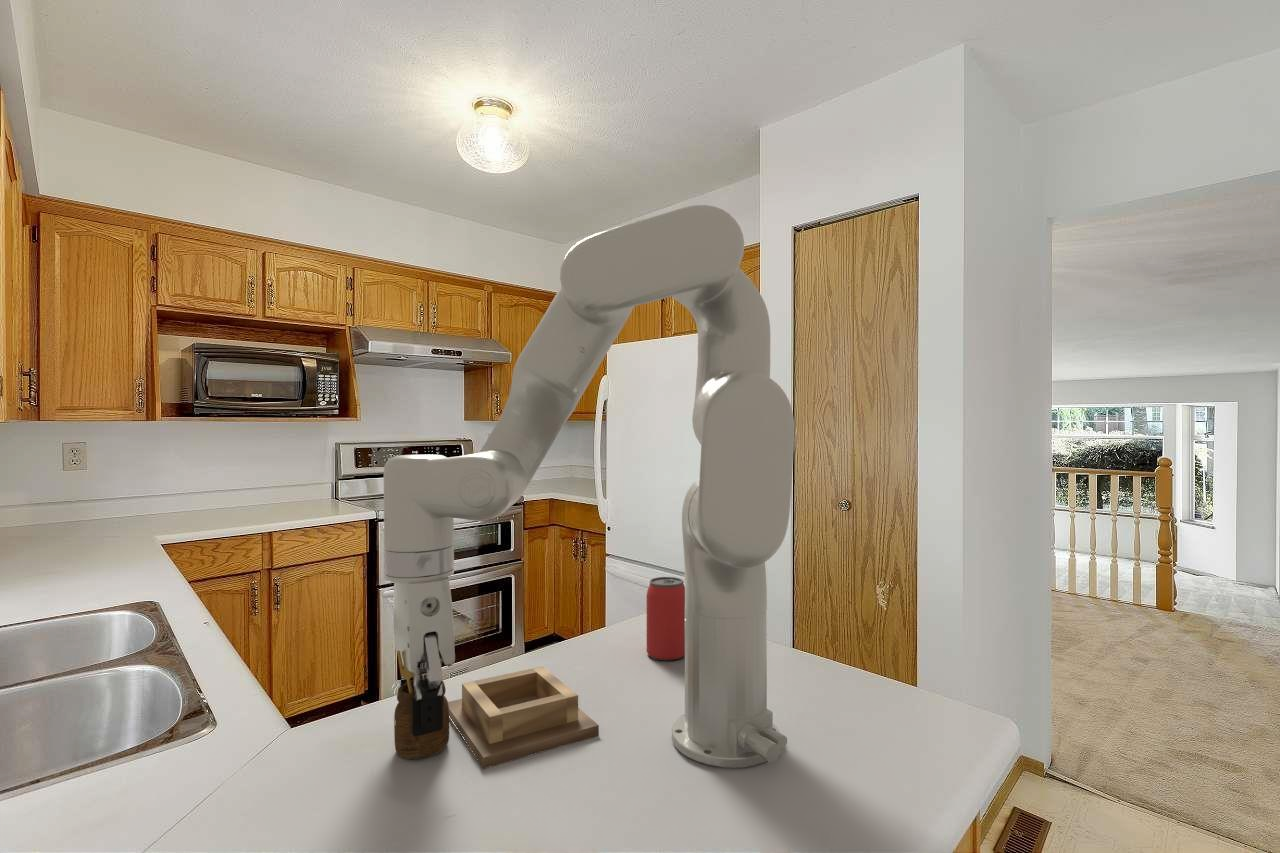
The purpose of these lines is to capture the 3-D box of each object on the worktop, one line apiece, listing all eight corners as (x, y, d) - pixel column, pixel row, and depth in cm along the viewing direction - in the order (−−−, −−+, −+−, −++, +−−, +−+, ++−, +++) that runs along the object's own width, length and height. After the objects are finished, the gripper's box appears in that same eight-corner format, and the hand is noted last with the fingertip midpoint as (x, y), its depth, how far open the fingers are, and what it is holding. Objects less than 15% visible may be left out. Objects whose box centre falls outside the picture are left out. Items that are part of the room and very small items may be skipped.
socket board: (598, 735, 75) (598, 699, 75) (483, 768, 67) (483, 729, 67) (545, 688, 88) (545, 658, 88) (444, 711, 81) (444, 679, 81)
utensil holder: (459, 738, 73) (457, 635, 74) (427, 765, 67) (426, 653, 68) (416, 733, 75) (414, 632, 75) (381, 759, 69) (379, 649, 69)
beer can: (694, 652, 102) (694, 579, 103) (674, 665, 97) (674, 587, 97) (659, 645, 106) (659, 574, 106) (638, 657, 100) (638, 582, 100)
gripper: (474, 572, 66) (476, 744, 66) (434, 547, 81) (436, 688, 81) (400, 582, 62) (401, 764, 62) (372, 554, 77) (373, 702, 77)
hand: (421, 719), depth 71 cm, fingers closed on utensil holder, 5 cm apart
